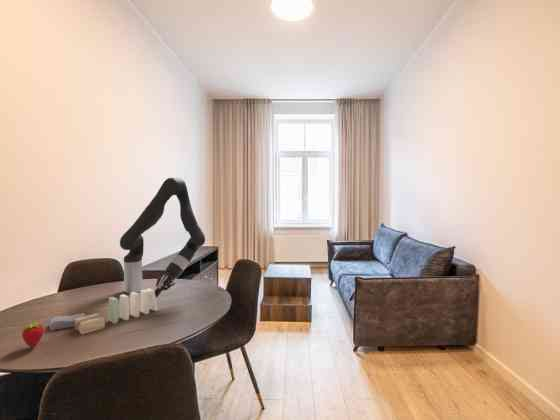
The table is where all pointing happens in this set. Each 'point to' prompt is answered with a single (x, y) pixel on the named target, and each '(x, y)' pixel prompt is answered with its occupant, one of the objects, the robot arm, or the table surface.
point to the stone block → (64, 321)
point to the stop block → (89, 323)
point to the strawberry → (32, 334)
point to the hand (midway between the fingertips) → (154, 296)
